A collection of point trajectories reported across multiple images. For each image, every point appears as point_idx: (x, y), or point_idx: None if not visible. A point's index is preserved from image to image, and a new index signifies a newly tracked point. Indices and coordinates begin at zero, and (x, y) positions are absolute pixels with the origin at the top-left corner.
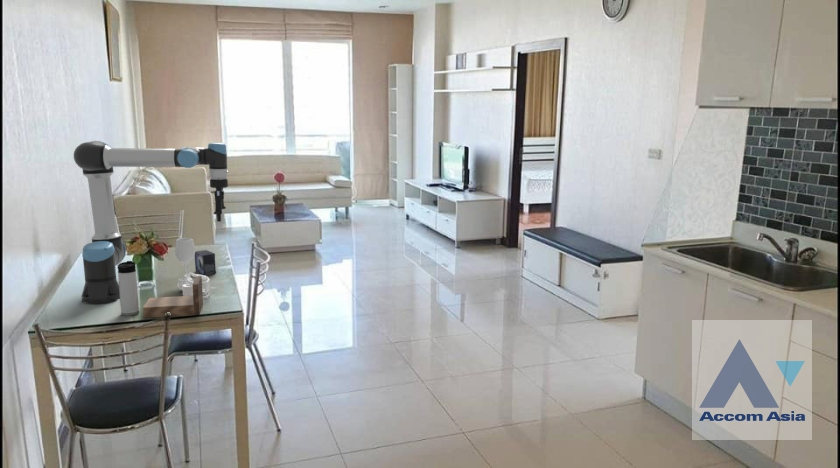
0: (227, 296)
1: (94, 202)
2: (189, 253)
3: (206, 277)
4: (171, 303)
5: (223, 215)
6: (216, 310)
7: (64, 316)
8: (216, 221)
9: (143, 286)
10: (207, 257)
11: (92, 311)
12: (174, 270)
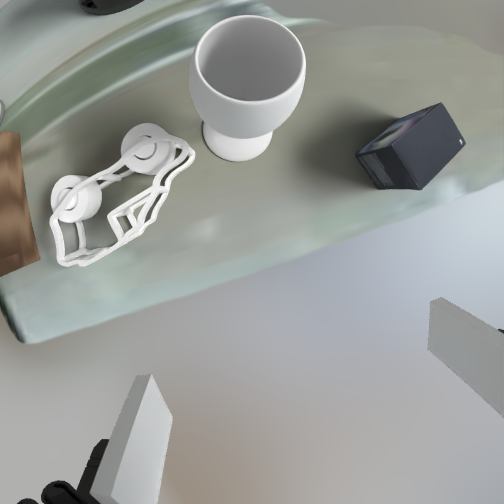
0: (112, 303)
1: None
2: (205, 121)
3: (119, 240)
4: None
5: (471, 380)
6: (17, 303)
7: (8, 18)
8: (118, 428)
9: (220, 13)
10: (396, 162)
11: (20, 36)
12: (409, 57)
